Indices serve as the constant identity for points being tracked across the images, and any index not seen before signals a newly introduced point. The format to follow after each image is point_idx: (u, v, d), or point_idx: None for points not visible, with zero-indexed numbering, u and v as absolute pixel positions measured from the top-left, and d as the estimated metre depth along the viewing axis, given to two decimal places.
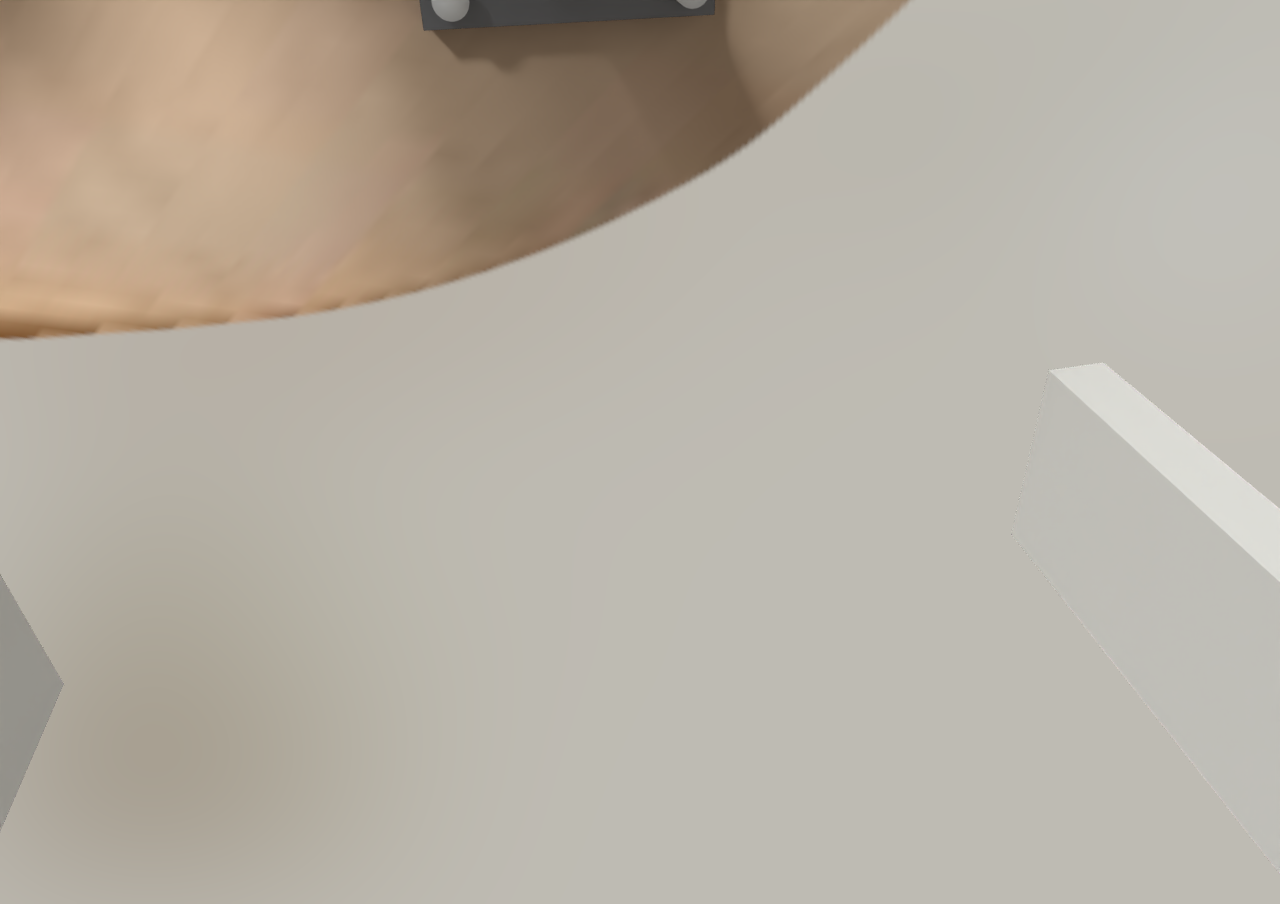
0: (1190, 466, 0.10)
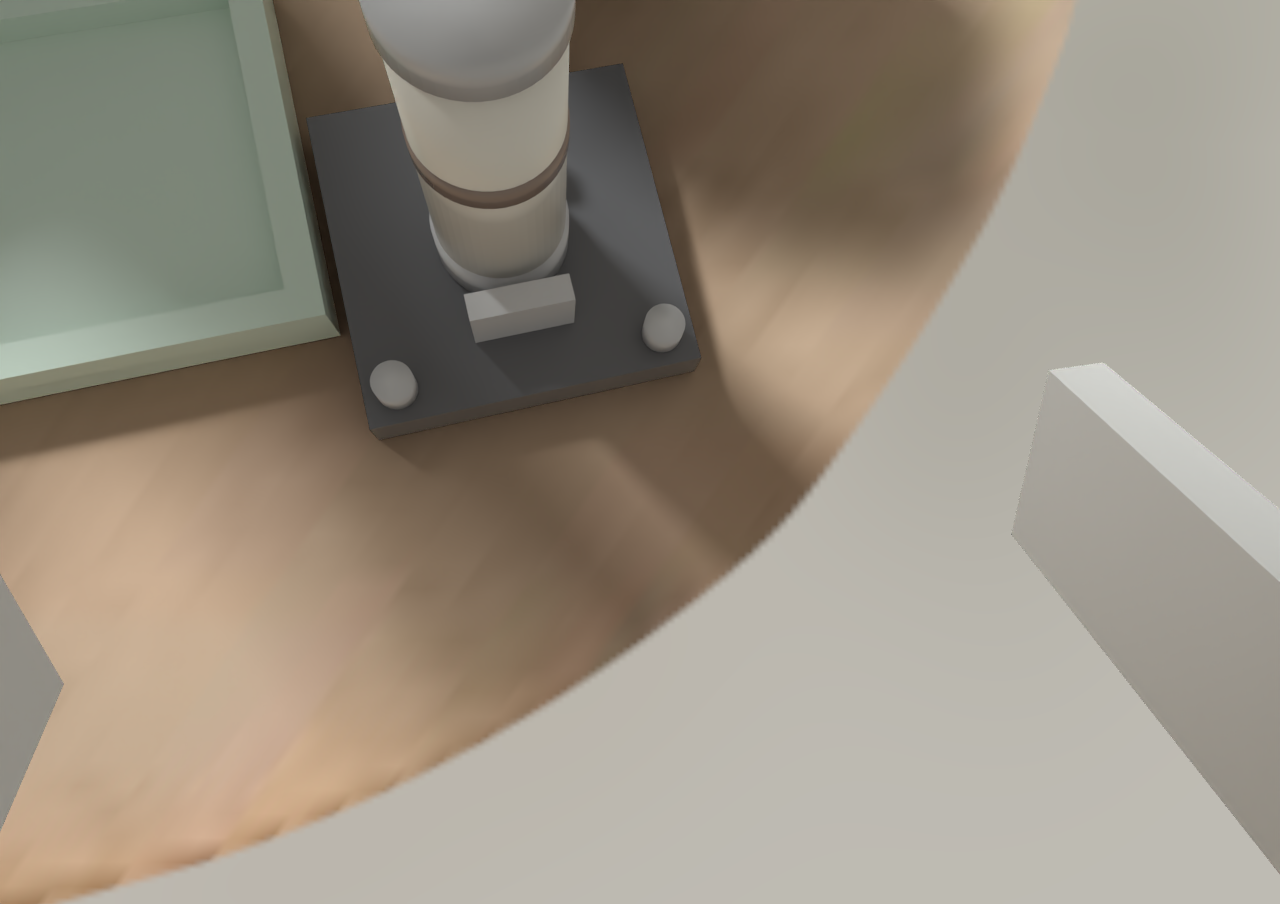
0: (1190, 466, 0.10)
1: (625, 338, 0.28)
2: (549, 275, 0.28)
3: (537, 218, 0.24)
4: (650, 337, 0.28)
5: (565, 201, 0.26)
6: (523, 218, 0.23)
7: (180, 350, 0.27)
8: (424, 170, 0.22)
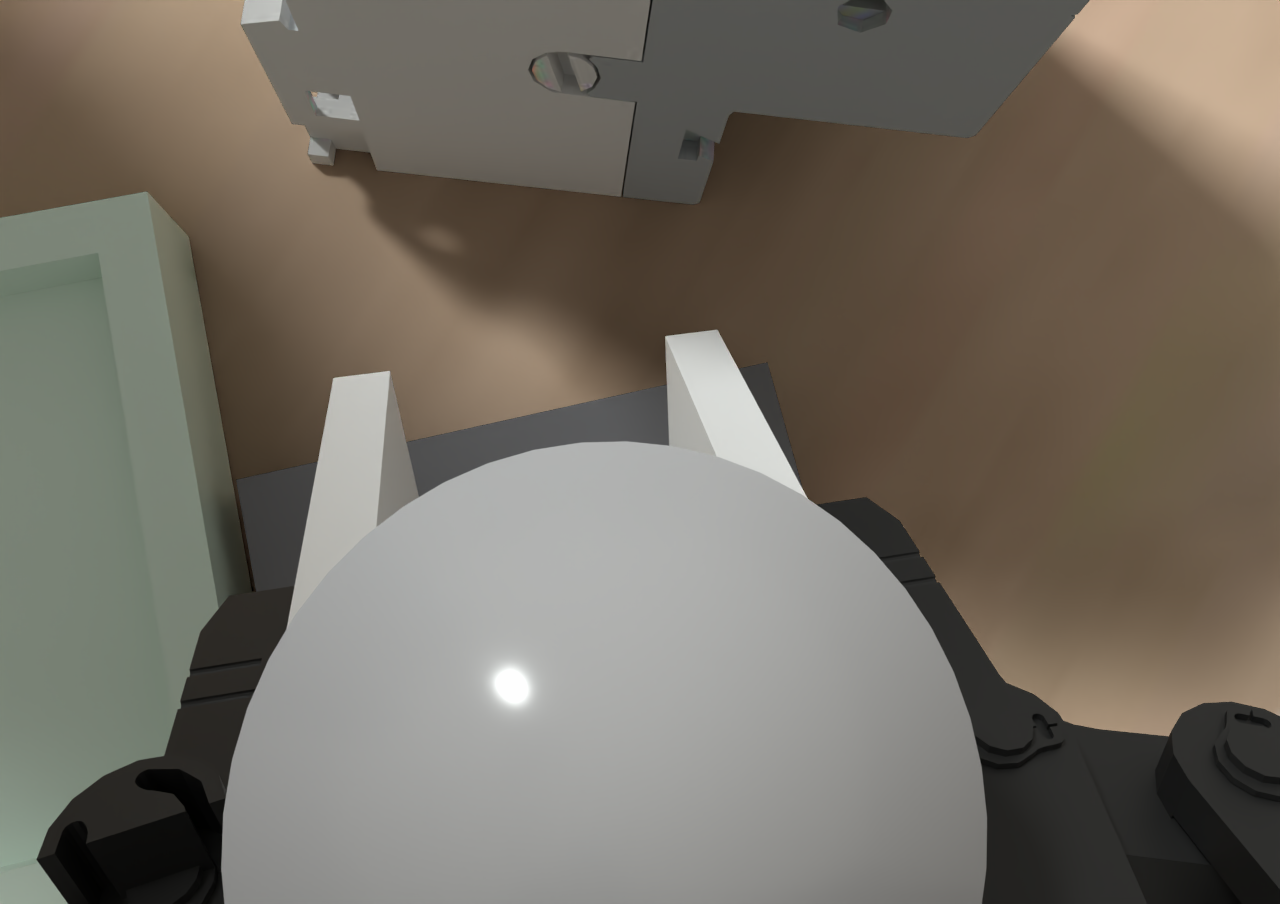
0: (731, 416, 0.11)
1: None
2: None
3: None
4: None
5: None
6: None
7: None
8: None
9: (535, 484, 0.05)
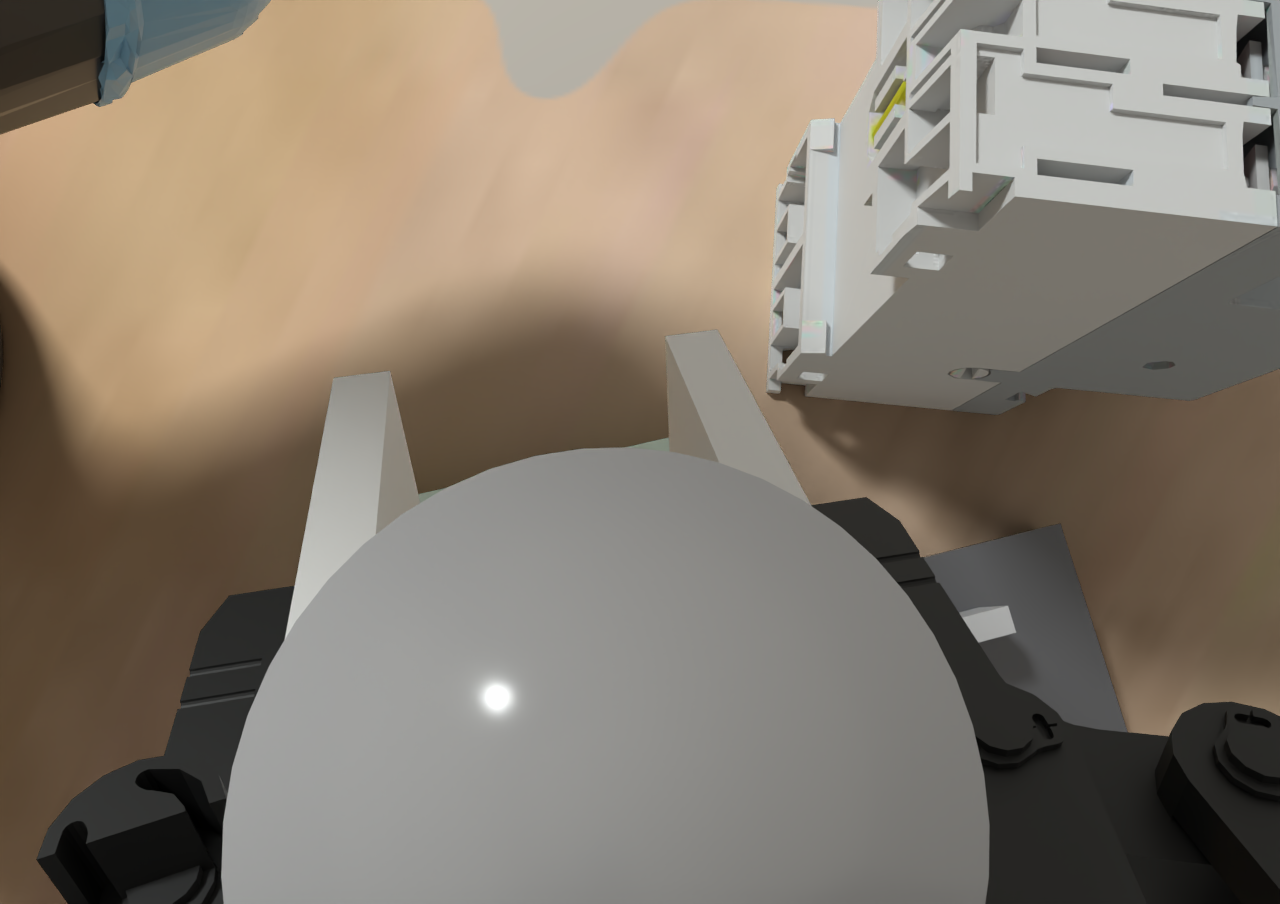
0: (731, 416, 0.11)
1: None
2: None
3: None
4: None
5: None
6: None
7: None
8: None
9: (537, 490, 0.05)
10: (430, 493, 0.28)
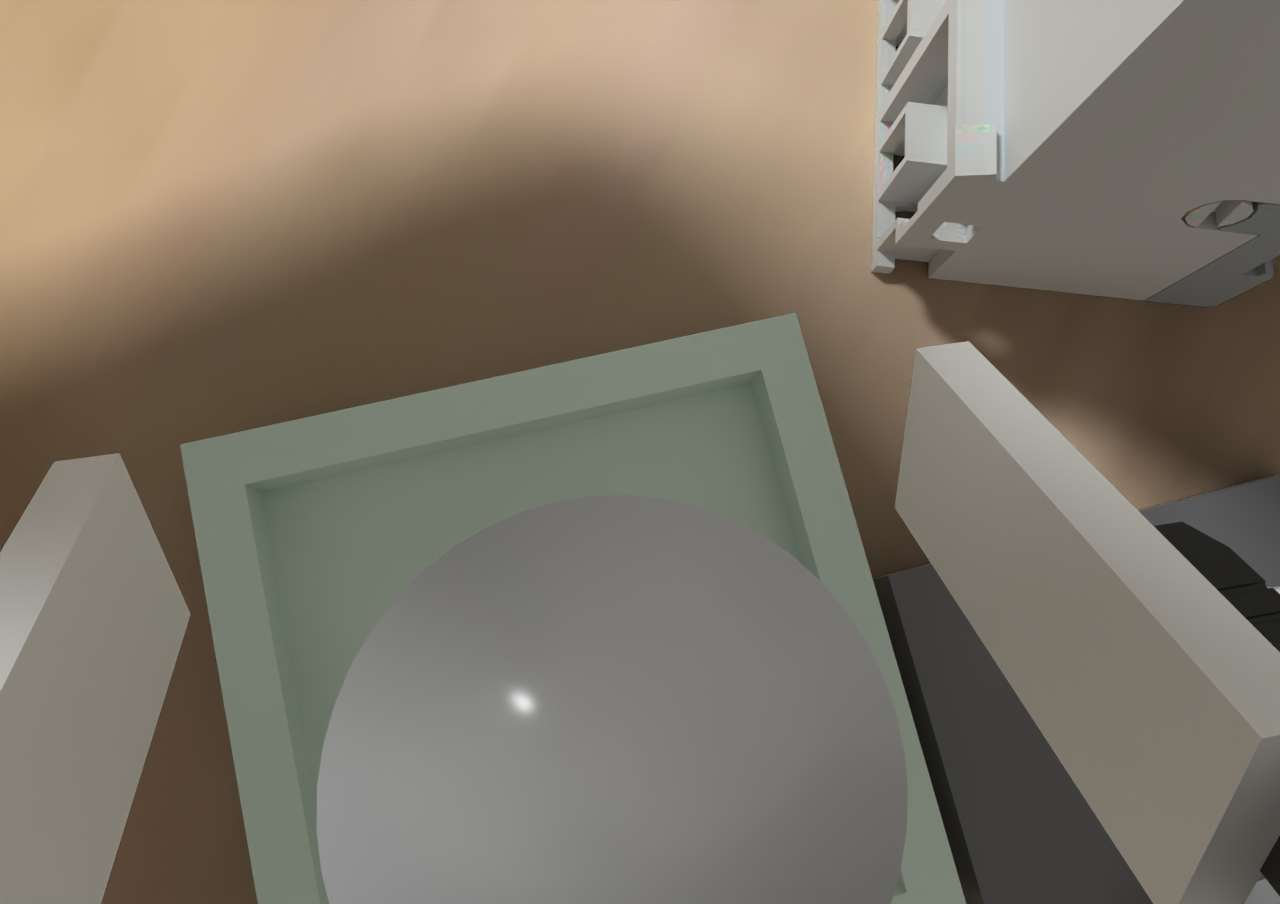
0: (1027, 435, 0.11)
1: None
2: None
3: None
4: None
5: None
6: None
7: None
8: None
9: (556, 529, 0.07)
10: (357, 409, 0.18)
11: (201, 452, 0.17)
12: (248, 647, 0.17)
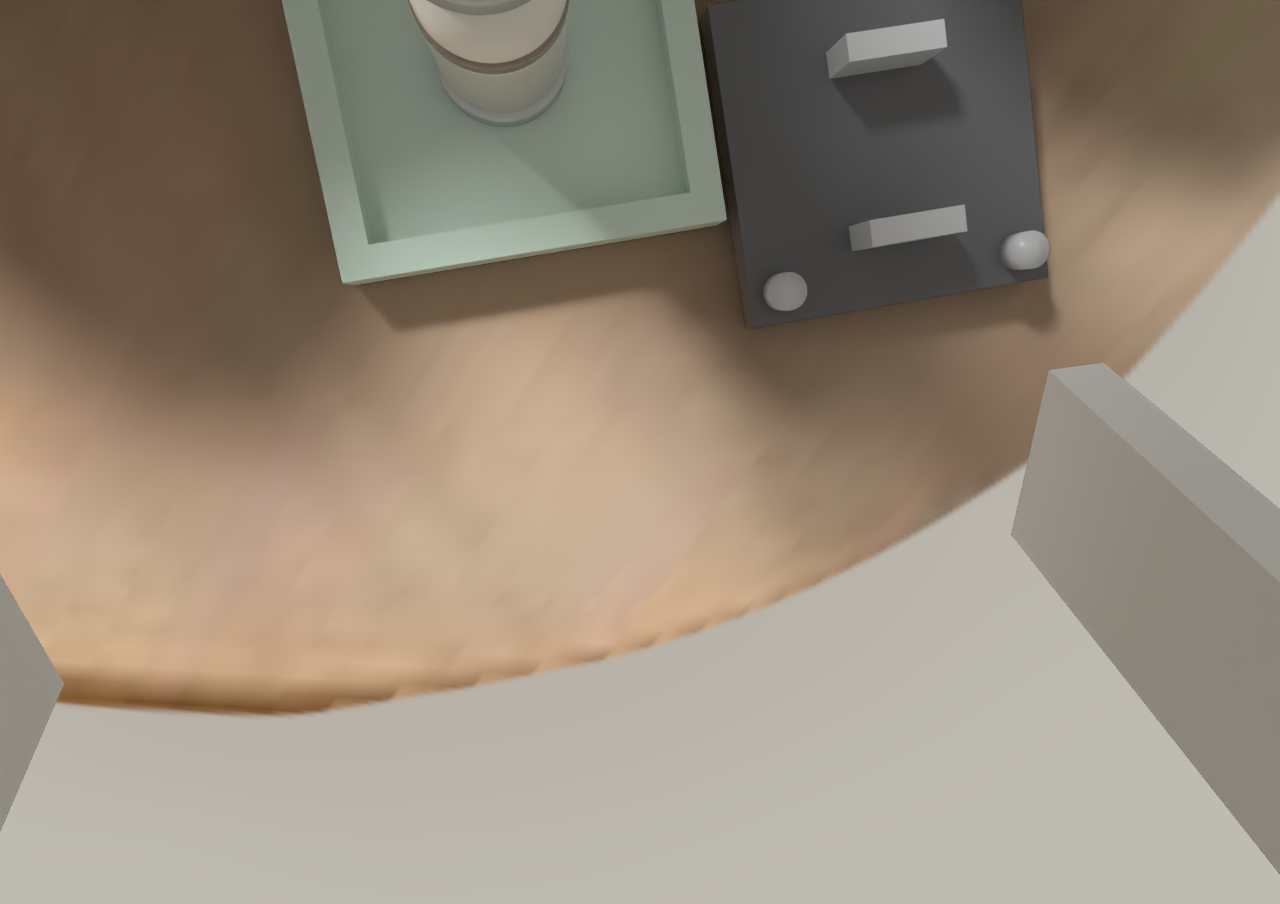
0: (1190, 466, 0.10)
1: (984, 254, 0.31)
2: (546, 107, 0.29)
3: (535, 74, 0.25)
4: (1015, 262, 0.30)
5: (564, 45, 0.26)
6: (521, 77, 0.24)
7: (591, 243, 0.30)
8: (427, 35, 0.22)
9: None
10: None
11: None
12: (302, 1, 0.27)
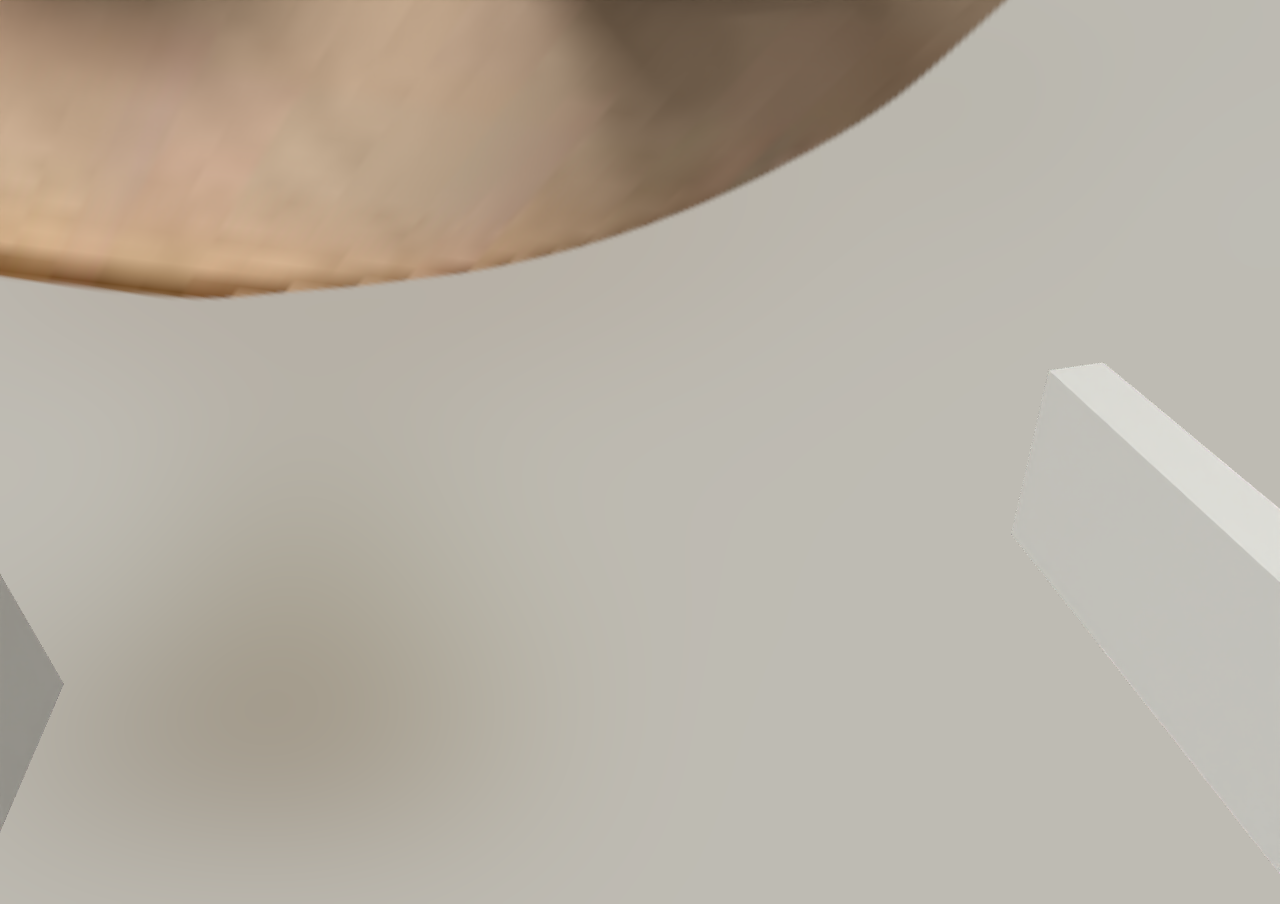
0: (1190, 466, 0.10)
1: None
2: None
3: None
4: None
5: None
6: None
7: None
8: None
9: None
10: None
11: None
12: None
